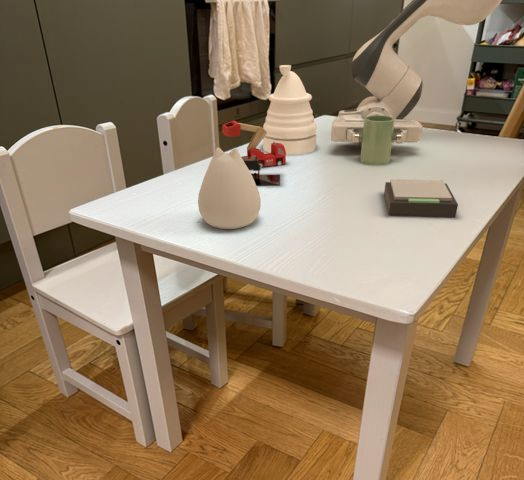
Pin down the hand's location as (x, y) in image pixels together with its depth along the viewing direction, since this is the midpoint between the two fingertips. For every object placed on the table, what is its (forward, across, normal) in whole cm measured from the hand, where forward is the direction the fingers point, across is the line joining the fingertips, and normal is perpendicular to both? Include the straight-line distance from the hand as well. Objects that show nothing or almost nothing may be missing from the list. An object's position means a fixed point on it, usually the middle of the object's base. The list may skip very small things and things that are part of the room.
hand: (377, 139), depth 108 cm
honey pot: (-11, +20, -5) cm, 23 cm away
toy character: (+37, +26, -5) cm, 46 cm away
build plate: (+15, +26, -5) cm, 31 cm away
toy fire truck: (+5, +26, -5) cm, 27 cm away
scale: (+27, -6, -5) cm, 28 cm away
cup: (-1, 0, -5) cm, 5 cm away
